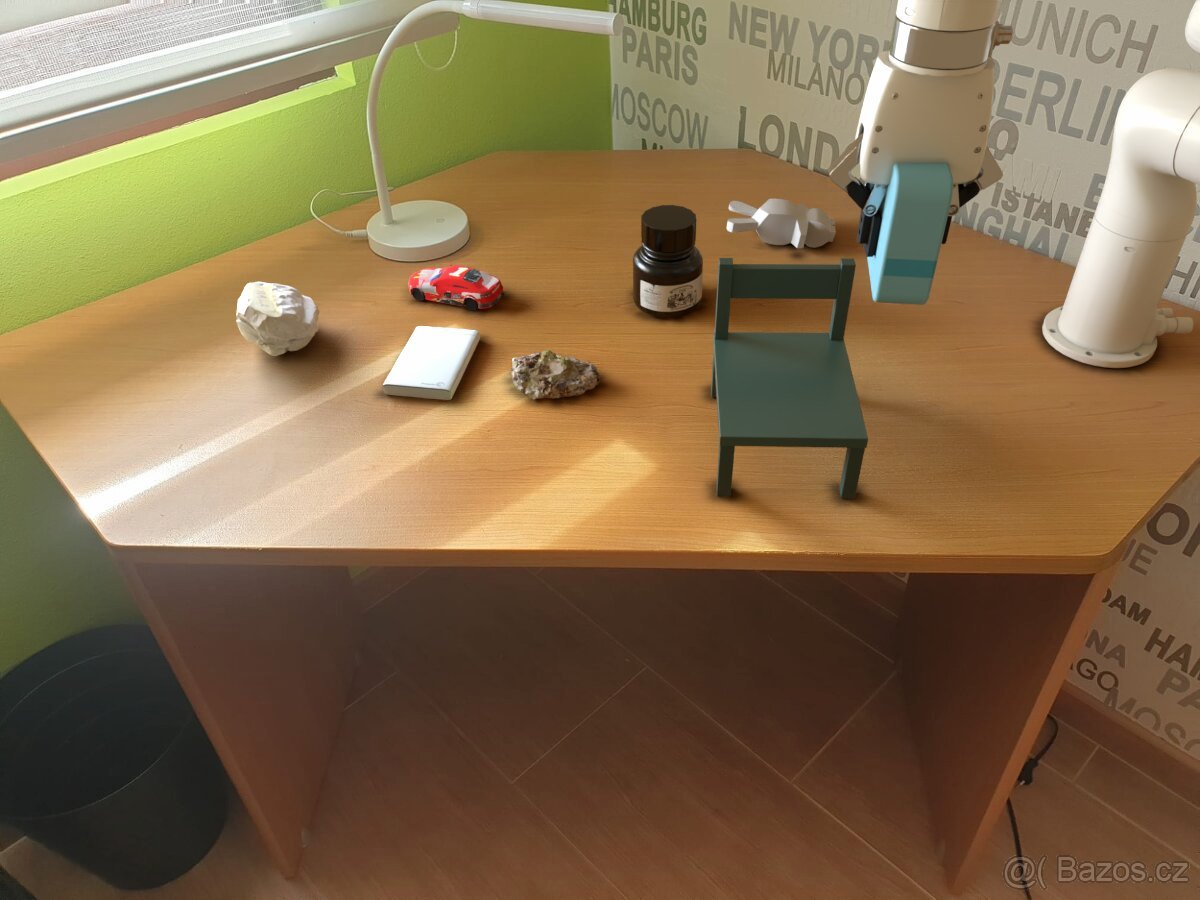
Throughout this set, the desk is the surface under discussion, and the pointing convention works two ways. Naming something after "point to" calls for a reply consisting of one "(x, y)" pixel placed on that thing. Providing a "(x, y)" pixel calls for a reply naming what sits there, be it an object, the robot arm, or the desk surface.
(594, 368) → the mineral rock
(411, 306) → the desk surface
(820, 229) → the bunny figurine
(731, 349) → the chair
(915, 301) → the light blue rounded block
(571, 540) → the desk surface
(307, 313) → the white rounded lump
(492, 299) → the race car
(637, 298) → the ink bottle
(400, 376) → the hard drive
